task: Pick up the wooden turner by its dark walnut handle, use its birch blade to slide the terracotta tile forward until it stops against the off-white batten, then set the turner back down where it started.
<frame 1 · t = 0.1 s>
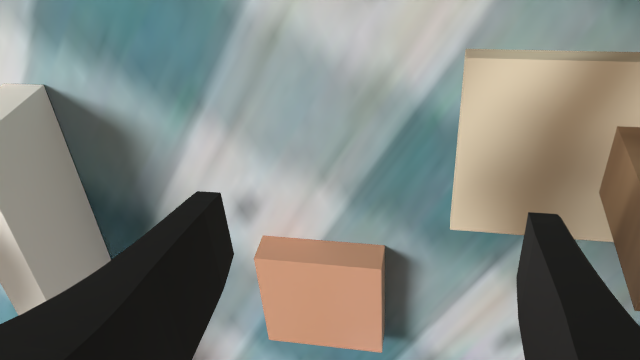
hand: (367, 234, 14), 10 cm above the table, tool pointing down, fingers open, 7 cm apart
batten: (96, 262, 32), on the table
tile: (327, 277, 30), on the table
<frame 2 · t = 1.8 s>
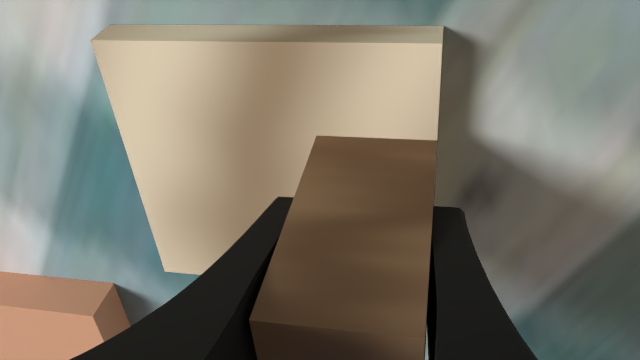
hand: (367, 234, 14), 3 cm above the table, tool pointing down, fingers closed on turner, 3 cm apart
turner: (380, 164, 16), on the table, touching gripper
tile: (72, 319, 24), on the table
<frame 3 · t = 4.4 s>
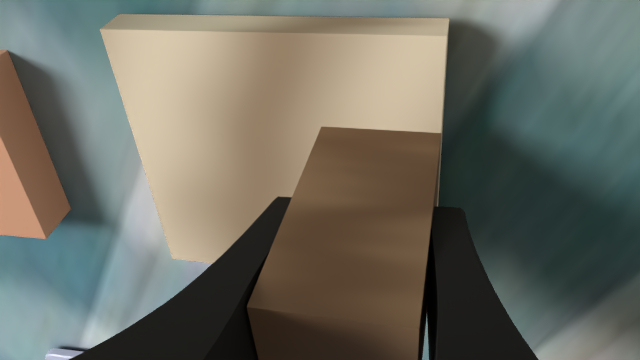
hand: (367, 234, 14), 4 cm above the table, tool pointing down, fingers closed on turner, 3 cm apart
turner: (385, 156, 16), on the table, touching gripper
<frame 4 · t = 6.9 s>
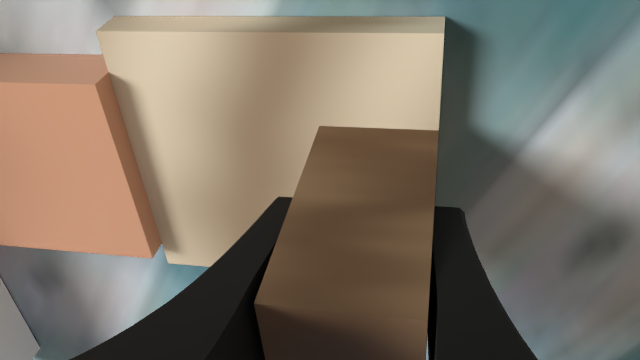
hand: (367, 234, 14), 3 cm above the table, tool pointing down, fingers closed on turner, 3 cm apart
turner: (382, 155, 16), on the table, touching gripper
tile: (68, 138, 19), on the table
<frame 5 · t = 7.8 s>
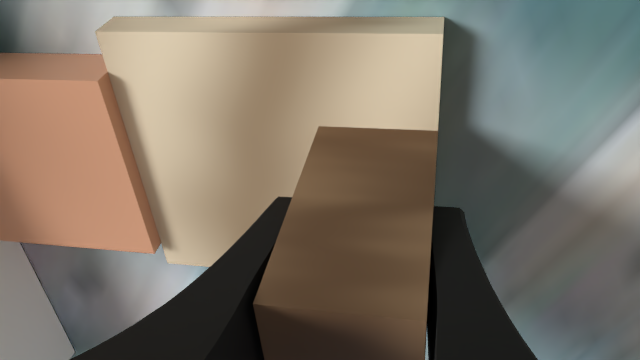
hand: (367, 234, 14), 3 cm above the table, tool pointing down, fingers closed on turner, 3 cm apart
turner: (381, 155, 16), on the table, touching gripper
tile: (70, 134, 19), on the table
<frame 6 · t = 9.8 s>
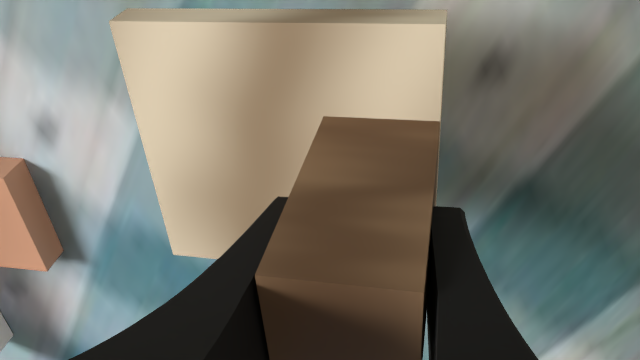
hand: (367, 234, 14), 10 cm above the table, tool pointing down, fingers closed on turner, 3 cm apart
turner: (385, 148, 17), point 6 cm above the table, touching gripper
when the fingers open (3 cm above the table, at t = 11.4 s): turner stays where it is, on the table.
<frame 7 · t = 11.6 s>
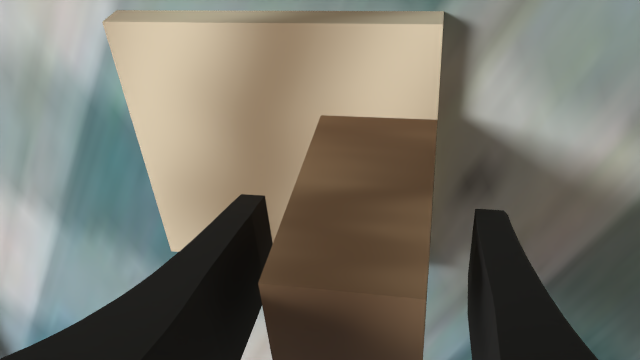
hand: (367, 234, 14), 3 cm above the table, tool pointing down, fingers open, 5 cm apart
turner: (382, 145, 17), on the table
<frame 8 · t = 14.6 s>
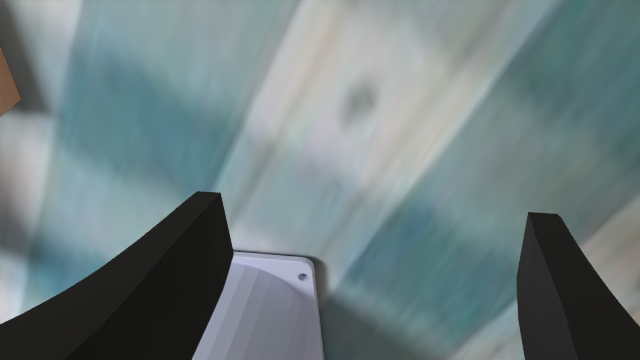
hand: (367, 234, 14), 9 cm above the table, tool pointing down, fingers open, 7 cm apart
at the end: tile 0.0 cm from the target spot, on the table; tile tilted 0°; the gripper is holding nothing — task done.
